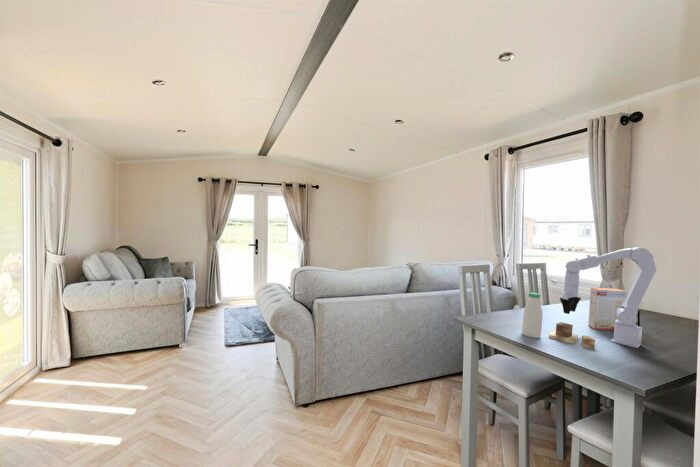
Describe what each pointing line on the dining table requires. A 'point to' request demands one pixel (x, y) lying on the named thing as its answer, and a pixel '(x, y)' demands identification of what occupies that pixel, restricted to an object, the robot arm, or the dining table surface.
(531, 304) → the milk bottle
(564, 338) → the base board
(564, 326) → the walnut cube
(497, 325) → the dining table surface
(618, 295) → the cracker box
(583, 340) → the oak cube
